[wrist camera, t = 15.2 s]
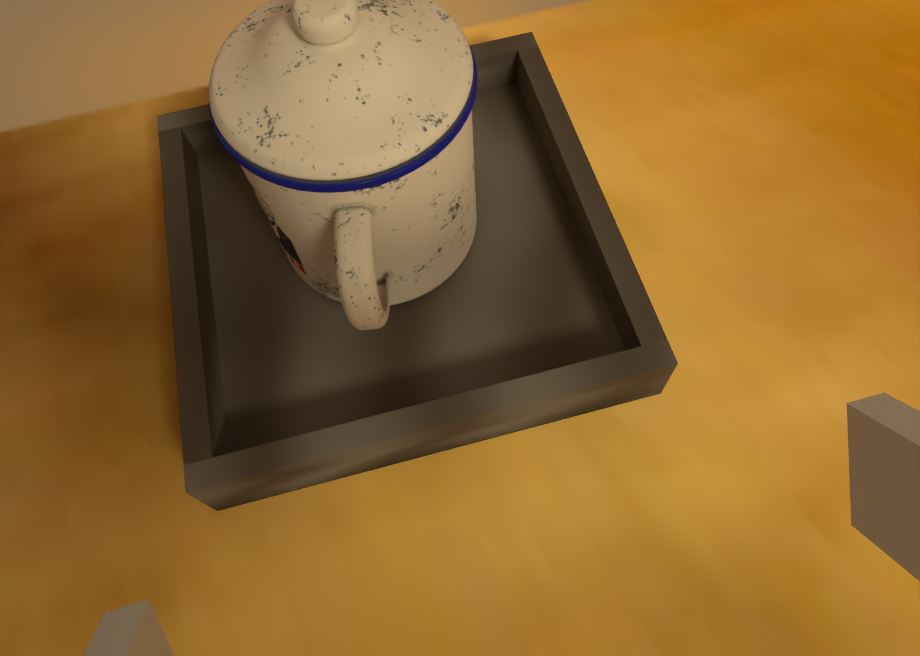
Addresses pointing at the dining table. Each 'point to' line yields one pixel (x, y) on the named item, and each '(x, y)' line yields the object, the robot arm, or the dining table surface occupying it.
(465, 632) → the dining table surface
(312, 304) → the tea tray
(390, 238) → the teacup with lid
